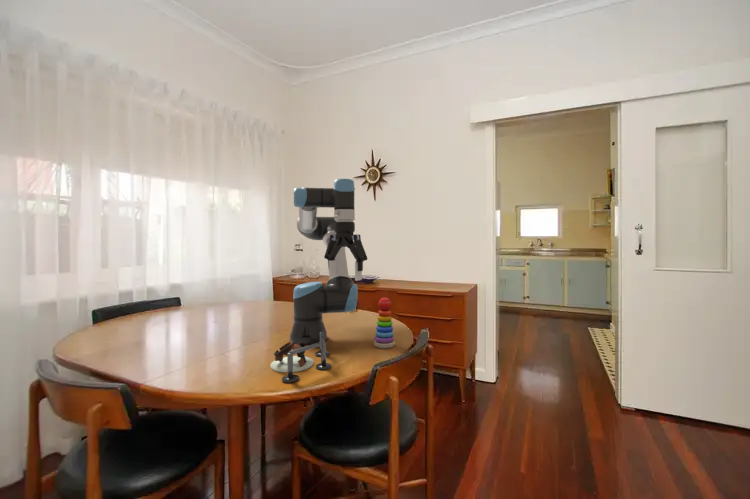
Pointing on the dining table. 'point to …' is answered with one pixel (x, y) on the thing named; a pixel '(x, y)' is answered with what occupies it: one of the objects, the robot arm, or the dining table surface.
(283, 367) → the sage pad
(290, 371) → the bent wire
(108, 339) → the dining table surface
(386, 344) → the stacking toy
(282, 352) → the brown angular figure
